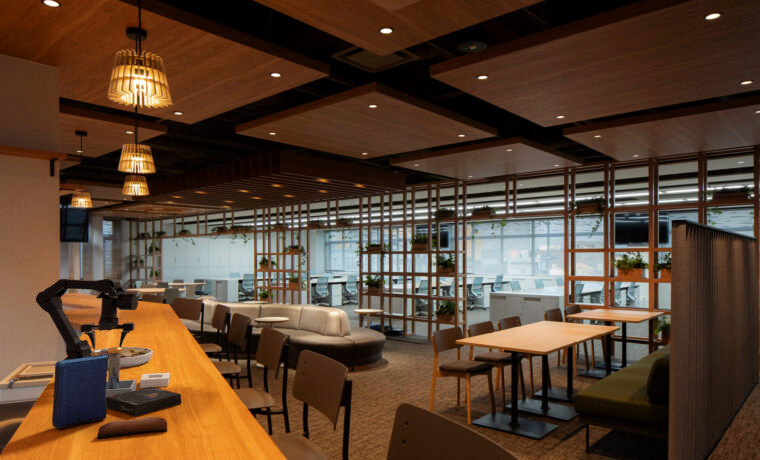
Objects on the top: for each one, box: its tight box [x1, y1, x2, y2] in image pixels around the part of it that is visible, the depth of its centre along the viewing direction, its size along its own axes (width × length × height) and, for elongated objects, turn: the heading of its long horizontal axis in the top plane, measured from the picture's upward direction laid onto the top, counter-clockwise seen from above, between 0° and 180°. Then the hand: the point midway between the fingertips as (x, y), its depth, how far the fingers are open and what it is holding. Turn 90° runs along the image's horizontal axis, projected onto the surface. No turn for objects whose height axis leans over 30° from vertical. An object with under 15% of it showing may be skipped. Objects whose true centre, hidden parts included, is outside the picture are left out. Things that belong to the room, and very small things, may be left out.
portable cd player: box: [106, 387, 183, 418], centre depth 168 cm, size 16×17×4 cm
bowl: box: [90, 346, 154, 370], centre depth 233 cm, size 30×30×8 cm
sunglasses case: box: [96, 416, 168, 440], centre depth 143 cm, size 18×7×7 cm, turn 114°
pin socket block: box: [139, 372, 171, 389], centre depth 197 cm, size 10×10×3 cm
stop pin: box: [107, 346, 123, 389], centre depth 180 cm, size 4×4×16 cm
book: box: [51, 354, 108, 430], centre depth 149 cm, size 14×5×20 cm, turn 141°
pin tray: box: [105, 379, 137, 400], centre depth 180 cm, size 14×14×4 cm
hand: (107, 348), depth 199 cm, fingers open, 9 cm apart
